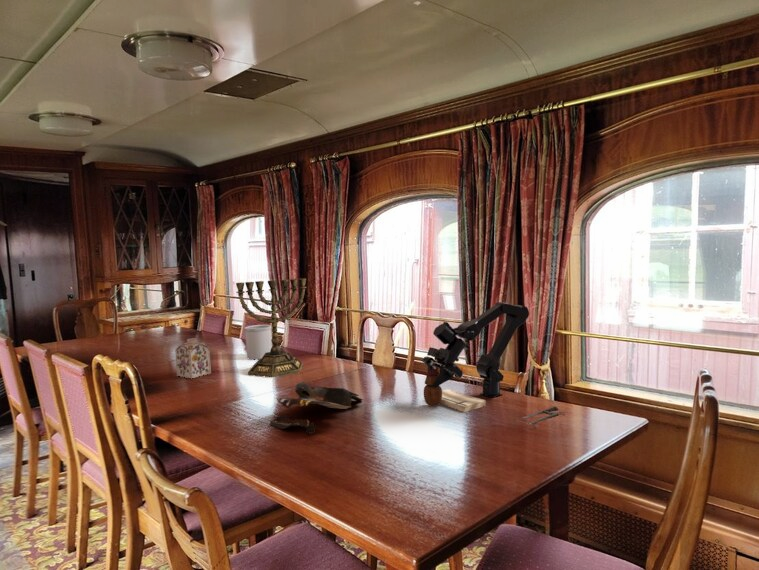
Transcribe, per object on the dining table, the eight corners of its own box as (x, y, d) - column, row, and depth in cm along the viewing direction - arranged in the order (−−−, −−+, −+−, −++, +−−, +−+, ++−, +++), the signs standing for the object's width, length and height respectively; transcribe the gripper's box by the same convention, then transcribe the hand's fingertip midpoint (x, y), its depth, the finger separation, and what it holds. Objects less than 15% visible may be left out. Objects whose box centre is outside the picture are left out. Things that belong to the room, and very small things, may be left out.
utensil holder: (241, 360, 280) (239, 328, 279) (252, 354, 295) (251, 324, 294) (266, 360, 278) (265, 328, 277) (276, 354, 293) (275, 324, 291)
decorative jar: (211, 373, 250) (209, 337, 249) (191, 379, 241) (189, 341, 239) (196, 371, 257) (194, 336, 256) (175, 376, 247) (173, 340, 246)
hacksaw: (554, 409, 183) (554, 405, 183) (579, 416, 174) (579, 412, 174) (506, 422, 170) (506, 418, 170) (530, 431, 162) (530, 427, 161)
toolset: (317, 392, 208) (365, 356, 199) (341, 435, 202) (390, 400, 193) (251, 406, 173) (305, 363, 164) (276, 459, 167) (334, 417, 158)
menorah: (298, 360, 274) (295, 277, 271) (320, 368, 254) (316, 279, 250) (232, 371, 254) (227, 281, 251) (250, 381, 233) (245, 284, 230)
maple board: (448, 394, 204) (448, 388, 204) (485, 405, 188) (485, 400, 187) (427, 399, 197) (427, 394, 197) (464, 412, 181) (464, 406, 181)
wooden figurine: (443, 403, 191) (442, 363, 190) (440, 407, 185) (439, 367, 184) (426, 401, 193) (425, 363, 192) (422, 406, 188) (421, 366, 186)
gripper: (425, 335, 197) (402, 368, 193) (455, 342, 181) (431, 378, 177) (442, 352, 202) (420, 384, 197) (473, 361, 186) (450, 396, 181)
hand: (429, 385), depth 188 cm, fingers closed on wooden figurine, 5 cm apart
